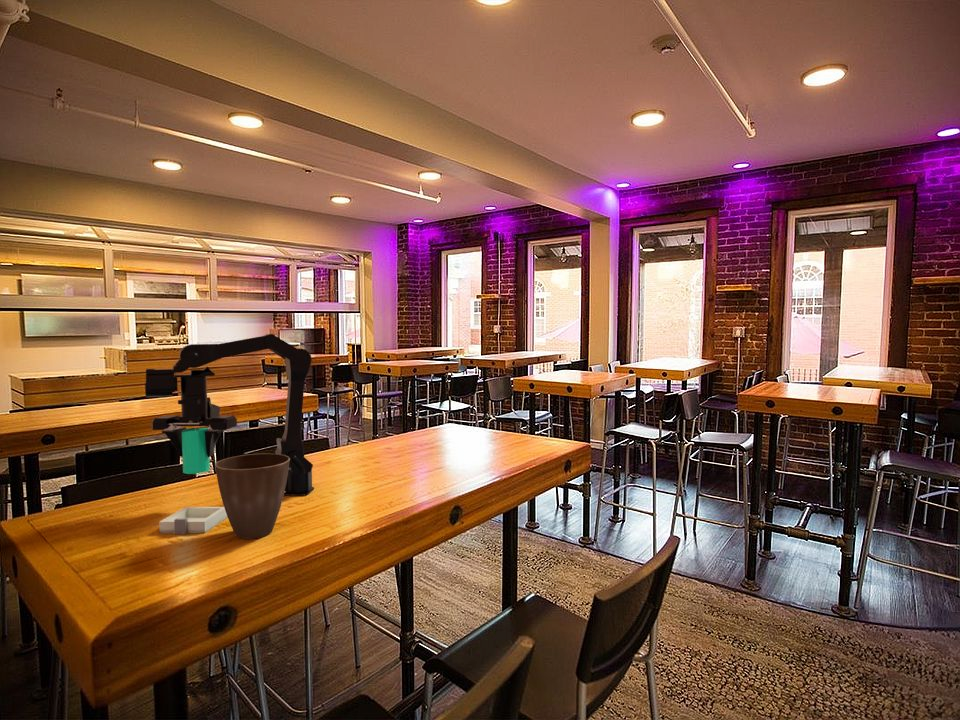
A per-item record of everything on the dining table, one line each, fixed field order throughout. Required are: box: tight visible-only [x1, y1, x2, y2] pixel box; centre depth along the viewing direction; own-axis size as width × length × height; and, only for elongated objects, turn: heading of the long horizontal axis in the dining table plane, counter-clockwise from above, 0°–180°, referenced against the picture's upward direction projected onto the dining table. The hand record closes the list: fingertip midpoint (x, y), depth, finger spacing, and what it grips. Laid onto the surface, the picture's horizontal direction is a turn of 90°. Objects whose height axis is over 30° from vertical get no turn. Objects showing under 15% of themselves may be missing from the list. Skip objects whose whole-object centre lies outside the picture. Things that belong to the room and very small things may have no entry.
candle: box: [182, 426, 211, 475], centre depth 132 cm, size 6×6×12 cm
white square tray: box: [158, 506, 228, 535], centre depth 120 cm, size 10×11×3 cm
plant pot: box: [214, 453, 290, 540], centre depth 115 cm, size 15×15×16 cm
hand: (196, 456), depth 132 cm, fingers closed on candle, 7 cm apart
